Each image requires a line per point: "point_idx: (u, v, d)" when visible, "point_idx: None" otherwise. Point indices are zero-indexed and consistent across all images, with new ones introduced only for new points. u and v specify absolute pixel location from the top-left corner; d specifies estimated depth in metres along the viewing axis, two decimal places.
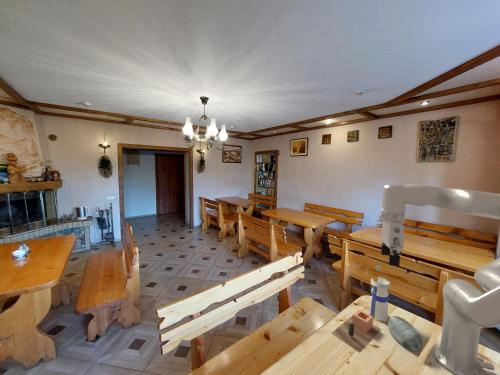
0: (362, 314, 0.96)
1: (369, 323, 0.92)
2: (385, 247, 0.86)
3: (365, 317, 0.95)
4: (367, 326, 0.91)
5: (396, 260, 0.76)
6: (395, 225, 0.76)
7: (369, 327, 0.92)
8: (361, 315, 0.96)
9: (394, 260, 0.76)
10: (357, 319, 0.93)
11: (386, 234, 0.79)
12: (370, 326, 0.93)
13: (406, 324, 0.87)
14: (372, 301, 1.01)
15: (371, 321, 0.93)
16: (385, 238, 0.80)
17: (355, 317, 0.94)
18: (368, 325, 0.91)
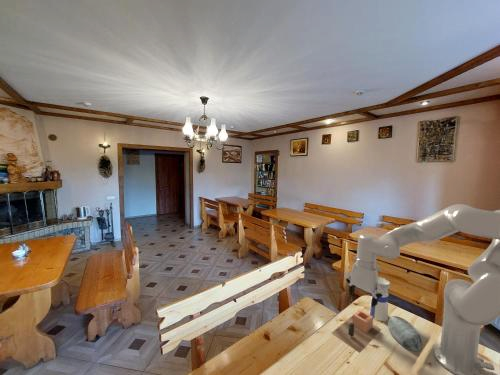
0: (362, 314, 0.96)
1: (369, 323, 0.92)
2: None
3: (365, 317, 0.95)
4: (367, 326, 0.91)
5: None
6: None
7: (369, 327, 0.92)
8: (361, 315, 0.96)
9: None
10: (357, 319, 0.93)
11: None
12: (370, 326, 0.93)
13: (406, 324, 0.87)
14: None
15: (371, 321, 0.93)
16: None
17: (355, 317, 0.94)
18: (368, 325, 0.91)
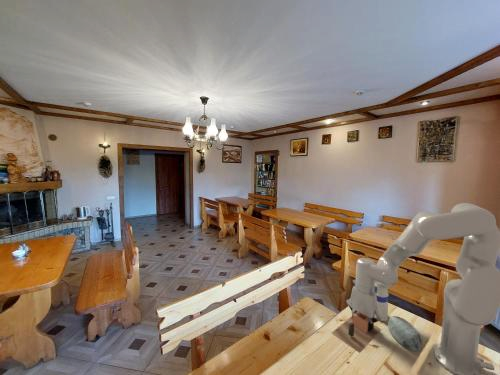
0: (362, 314, 0.96)
1: None
2: None
3: (365, 317, 0.95)
4: (367, 326, 0.91)
5: None
6: None
7: None
8: (361, 315, 0.96)
9: None
10: (357, 319, 0.93)
11: None
12: None
13: (406, 324, 0.87)
14: None
15: None
16: None
17: (355, 317, 0.94)
18: None
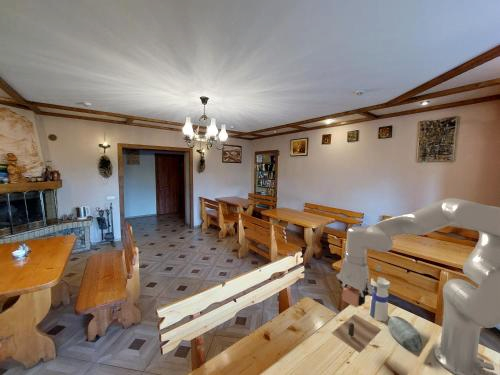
0: (353, 288, 0.89)
1: None
2: None
3: (356, 291, 0.88)
4: (357, 300, 0.83)
5: None
6: None
7: None
8: (352, 290, 0.89)
9: None
10: (347, 293, 0.86)
11: None
12: None
13: (406, 324, 0.87)
14: (372, 301, 1.01)
15: None
16: None
17: (345, 291, 0.87)
18: None
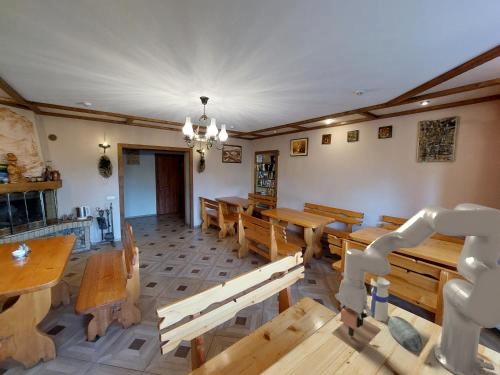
0: (351, 309, 0.89)
1: None
2: None
3: (354, 312, 0.88)
4: (356, 322, 0.84)
5: None
6: None
7: None
8: (350, 310, 0.90)
9: None
10: (345, 314, 0.87)
11: None
12: None
13: (406, 324, 0.87)
14: (372, 301, 1.01)
15: None
16: None
17: (343, 312, 0.87)
18: None
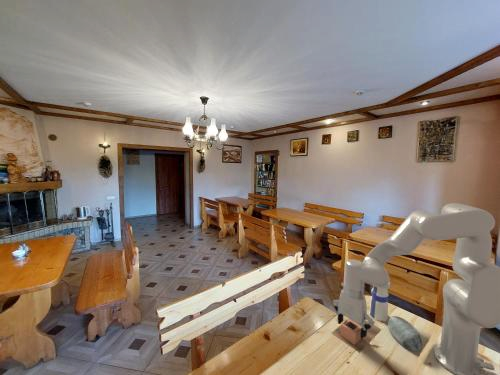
0: None
1: (358, 334, 0.86)
2: None
3: (354, 327, 0.89)
4: (355, 338, 0.85)
5: None
6: None
7: (358, 338, 0.86)
8: None
9: None
10: (345, 329, 0.87)
11: None
12: (359, 337, 0.87)
13: (406, 324, 0.87)
14: (372, 301, 1.01)
15: (360, 331, 0.87)
16: None
17: (343, 327, 0.88)
18: (357, 336, 0.85)
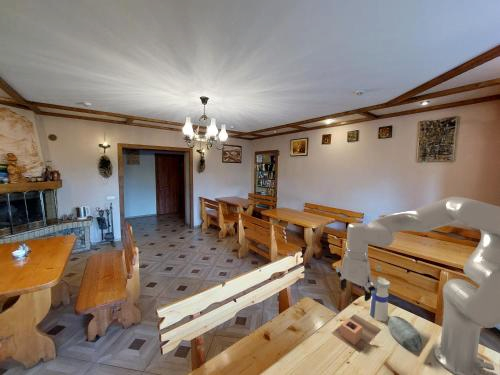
0: None
1: (358, 334, 0.86)
2: None
3: (354, 327, 0.89)
4: (355, 338, 0.85)
5: None
6: None
7: (358, 338, 0.86)
8: None
9: None
10: (345, 329, 0.87)
11: None
12: (359, 337, 0.87)
13: (406, 324, 0.87)
14: (372, 301, 1.01)
15: (360, 331, 0.87)
16: None
17: (343, 327, 0.88)
18: (357, 336, 0.85)
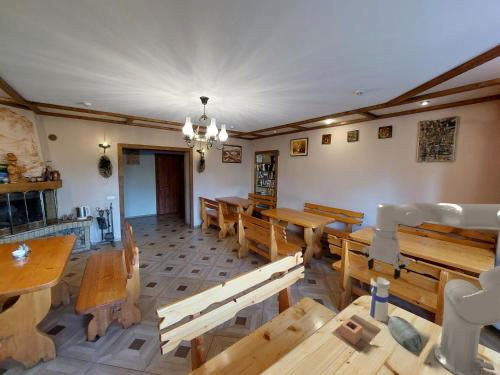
0: None
1: (358, 334, 0.86)
2: None
3: (354, 327, 0.89)
4: (355, 338, 0.85)
5: None
6: None
7: (358, 338, 0.86)
8: None
9: None
10: (345, 329, 0.87)
11: None
12: (359, 337, 0.87)
13: (406, 324, 0.87)
14: (372, 301, 1.01)
15: (360, 331, 0.87)
16: None
17: (343, 327, 0.88)
18: (357, 336, 0.85)
